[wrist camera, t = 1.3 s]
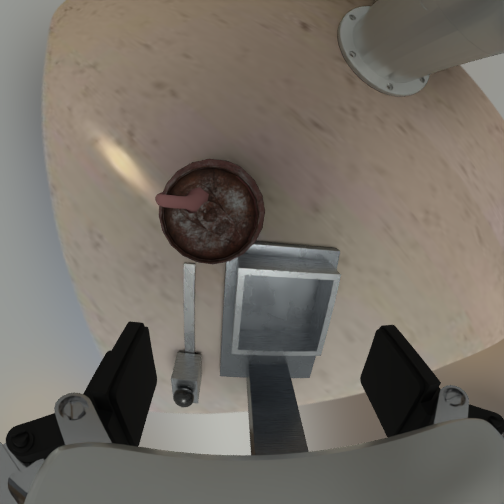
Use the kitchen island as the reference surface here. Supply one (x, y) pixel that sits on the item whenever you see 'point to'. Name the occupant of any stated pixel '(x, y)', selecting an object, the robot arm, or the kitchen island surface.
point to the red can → (211, 211)
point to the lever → (186, 379)
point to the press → (272, 332)
